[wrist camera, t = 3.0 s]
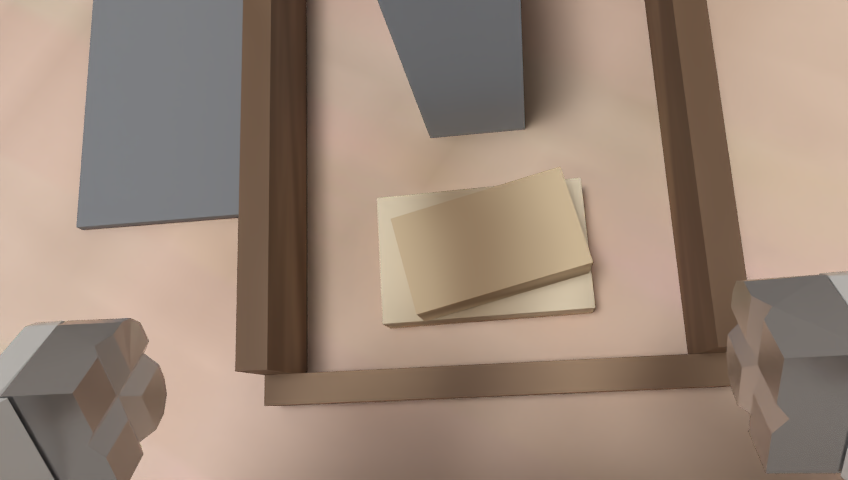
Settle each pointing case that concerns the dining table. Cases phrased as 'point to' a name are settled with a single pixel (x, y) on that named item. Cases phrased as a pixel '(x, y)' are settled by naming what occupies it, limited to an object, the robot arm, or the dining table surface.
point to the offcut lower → (533, 303)
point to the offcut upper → (491, 245)
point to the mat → (162, 113)
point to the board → (461, 62)
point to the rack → (291, 384)
